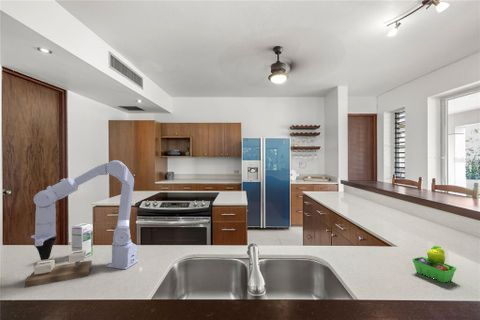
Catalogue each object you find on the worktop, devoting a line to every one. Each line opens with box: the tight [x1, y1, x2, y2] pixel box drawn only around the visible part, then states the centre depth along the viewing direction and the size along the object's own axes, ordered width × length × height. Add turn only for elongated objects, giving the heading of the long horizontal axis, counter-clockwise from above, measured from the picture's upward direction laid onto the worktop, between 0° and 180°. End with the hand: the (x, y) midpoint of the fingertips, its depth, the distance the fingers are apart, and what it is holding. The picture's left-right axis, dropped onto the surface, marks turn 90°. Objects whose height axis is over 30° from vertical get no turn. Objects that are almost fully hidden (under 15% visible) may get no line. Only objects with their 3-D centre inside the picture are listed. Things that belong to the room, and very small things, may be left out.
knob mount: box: [24, 260, 93, 288], centre depth 85 cm, size 18×10×4 cm, turn 117°
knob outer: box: [33, 259, 56, 275], centre depth 82 cm, size 5×5×3 cm
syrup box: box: [71, 222, 94, 258], centre depth 102 cm, size 6×6×14 cm
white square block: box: [68, 250, 87, 264], centre depth 87 cm, size 5×5×3 cm
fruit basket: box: [411, 245, 457, 284], centre depth 86 cm, size 11×9×11 cm
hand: (45, 259), depth 82 cm, fingers closed
